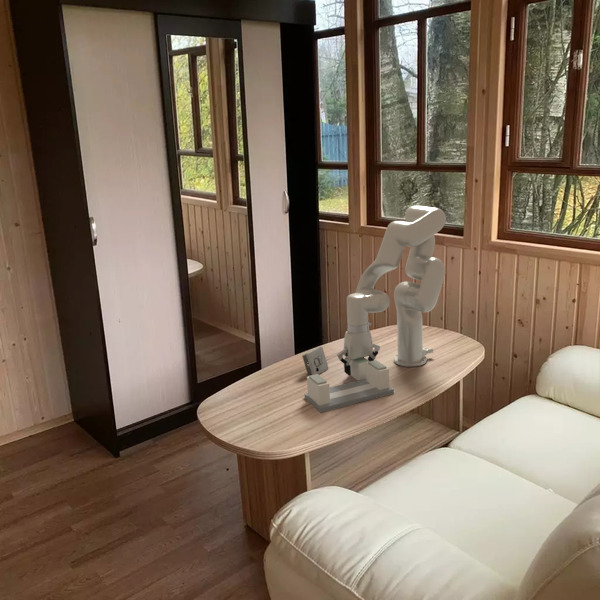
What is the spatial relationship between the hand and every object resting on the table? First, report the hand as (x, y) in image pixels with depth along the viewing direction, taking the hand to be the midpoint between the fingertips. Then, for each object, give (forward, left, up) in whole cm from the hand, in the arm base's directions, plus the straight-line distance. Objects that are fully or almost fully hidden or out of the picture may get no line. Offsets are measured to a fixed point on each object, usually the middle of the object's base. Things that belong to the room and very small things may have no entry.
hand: (359, 371), depth 223 cm
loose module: (0, 0, -2) cm, 2 cm away
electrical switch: (+12, -13, -3) cm, 18 cm away
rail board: (+11, +12, -2) cm, 16 cm away
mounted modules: (+11, +12, -1) cm, 16 cm away
